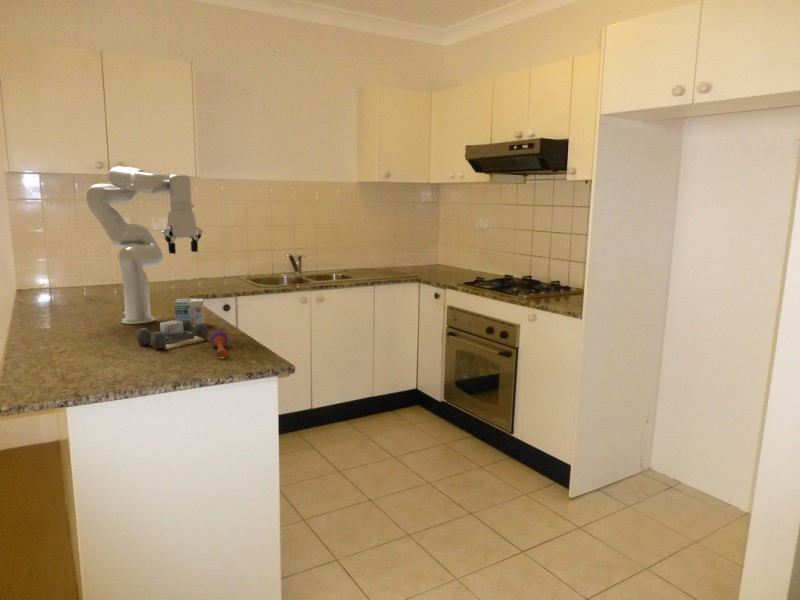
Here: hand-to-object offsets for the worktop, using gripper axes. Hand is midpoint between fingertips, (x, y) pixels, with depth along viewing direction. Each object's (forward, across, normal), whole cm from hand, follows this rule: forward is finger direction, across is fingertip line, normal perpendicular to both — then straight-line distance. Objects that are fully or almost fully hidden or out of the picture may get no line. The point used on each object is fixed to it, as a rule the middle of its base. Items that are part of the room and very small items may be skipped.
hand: (183, 252), depth 222 cm
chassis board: (+30, +16, +14) cm, 37 cm away
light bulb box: (+31, -4, -4) cm, 31 cm away
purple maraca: (+31, +14, +38) cm, 51 cm away
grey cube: (+29, +16, +14) cm, 36 cm away
